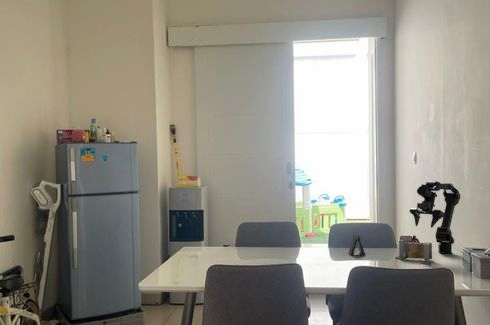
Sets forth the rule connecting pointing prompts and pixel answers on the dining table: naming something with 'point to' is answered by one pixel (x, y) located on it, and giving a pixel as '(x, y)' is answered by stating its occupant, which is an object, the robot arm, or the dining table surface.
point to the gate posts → (402, 252)
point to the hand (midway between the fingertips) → (423, 226)
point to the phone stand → (355, 245)
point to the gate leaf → (416, 250)
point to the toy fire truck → (409, 239)
